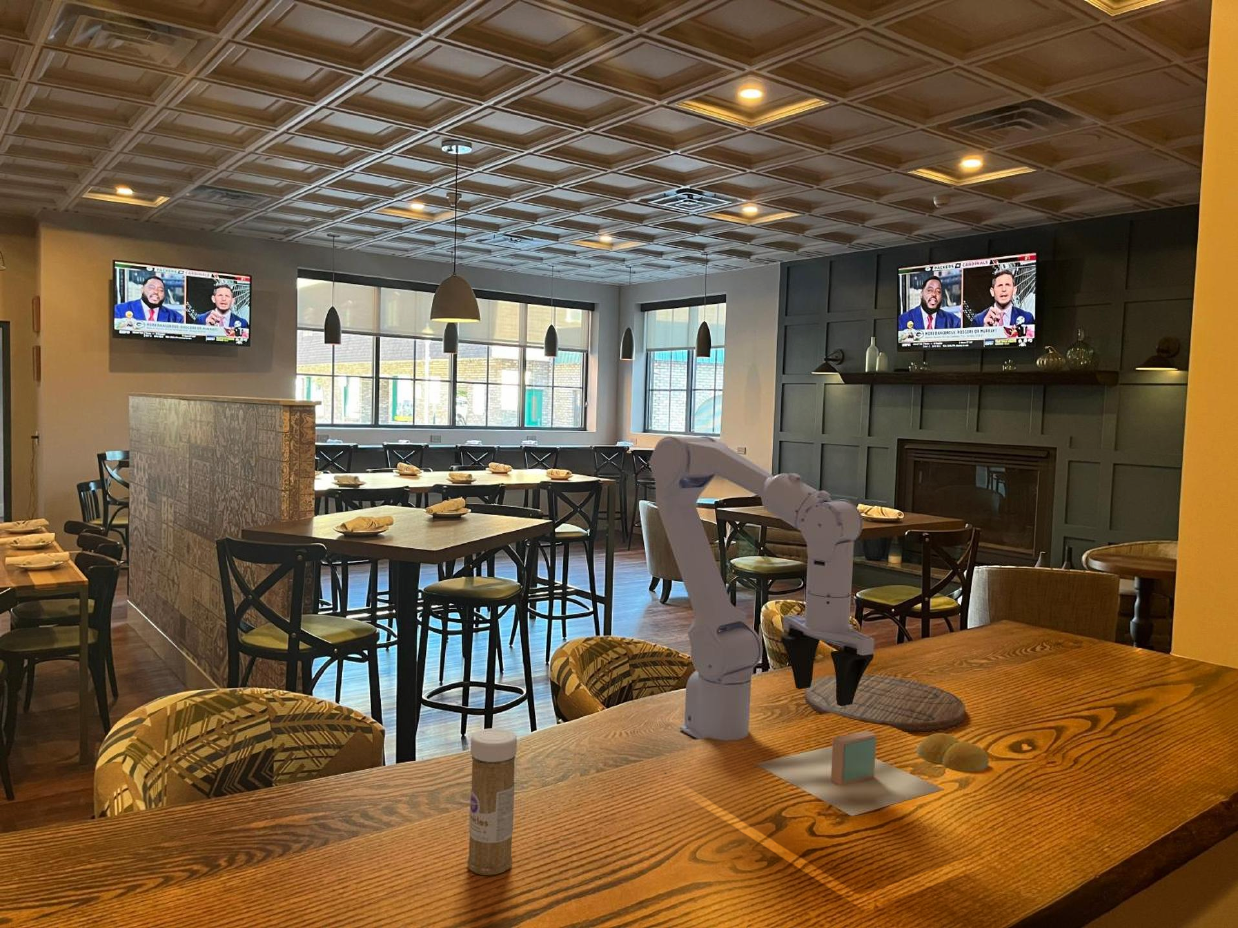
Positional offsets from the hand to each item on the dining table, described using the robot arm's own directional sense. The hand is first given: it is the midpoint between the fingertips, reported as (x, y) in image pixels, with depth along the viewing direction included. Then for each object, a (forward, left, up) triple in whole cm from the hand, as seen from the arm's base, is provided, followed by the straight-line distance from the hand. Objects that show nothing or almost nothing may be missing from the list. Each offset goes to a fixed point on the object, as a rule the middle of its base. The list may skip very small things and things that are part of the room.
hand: (823, 695), depth 118 cm
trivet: (-15, +29, -10) cm, 34 cm away
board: (+5, 0, -10) cm, 11 cm away
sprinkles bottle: (+3, -48, -10) cm, 49 cm away
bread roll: (+7, +18, -10) cm, 22 cm away
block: (+6, 0, -9) cm, 11 cm away
